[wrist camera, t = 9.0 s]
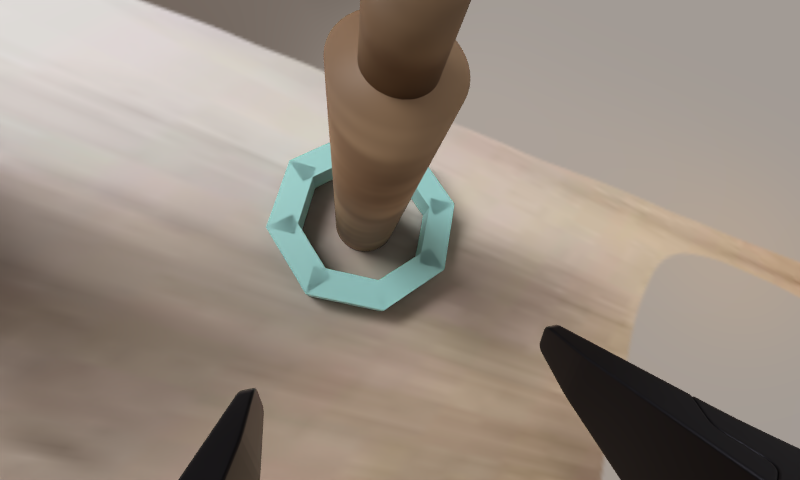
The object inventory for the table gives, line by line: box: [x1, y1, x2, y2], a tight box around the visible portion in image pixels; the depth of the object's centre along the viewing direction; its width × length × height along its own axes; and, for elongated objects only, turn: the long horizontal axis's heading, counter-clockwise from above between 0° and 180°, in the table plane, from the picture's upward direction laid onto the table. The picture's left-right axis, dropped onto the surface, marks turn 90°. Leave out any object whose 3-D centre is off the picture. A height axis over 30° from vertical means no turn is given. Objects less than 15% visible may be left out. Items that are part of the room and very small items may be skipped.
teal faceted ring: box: [266, 143, 454, 311], centre depth 18 cm, size 10×10×2 cm
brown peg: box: [324, 0, 471, 251], centre depth 12 cm, size 4×4×14 cm
